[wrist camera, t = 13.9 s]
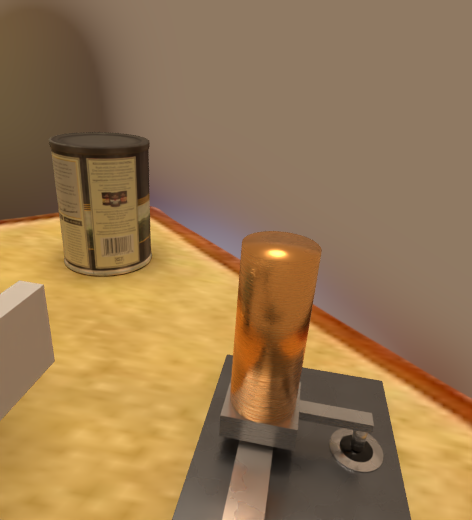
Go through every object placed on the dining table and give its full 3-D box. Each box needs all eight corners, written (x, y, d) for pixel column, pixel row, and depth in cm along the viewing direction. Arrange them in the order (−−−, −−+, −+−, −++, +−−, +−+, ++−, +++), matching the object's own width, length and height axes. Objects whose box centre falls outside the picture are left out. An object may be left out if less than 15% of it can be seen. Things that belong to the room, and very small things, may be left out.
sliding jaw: (218, 445, 24) (231, 254, 19) (231, 398, 28) (245, 227, 23) (368, 476, 23) (425, 281, 18) (362, 422, 27) (407, 247, 22)
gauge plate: (53, 896, 12) (36, 855, 10) (226, 364, 33) (229, 326, 32) (510, 1069, 10) (572, 1052, 8) (379, 391, 32) (389, 352, 30)
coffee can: (114, 235, 57) (108, 129, 51) (169, 257, 51) (169, 141, 46) (44, 258, 49) (27, 135, 43) (101, 286, 44) (90, 150, 38)
